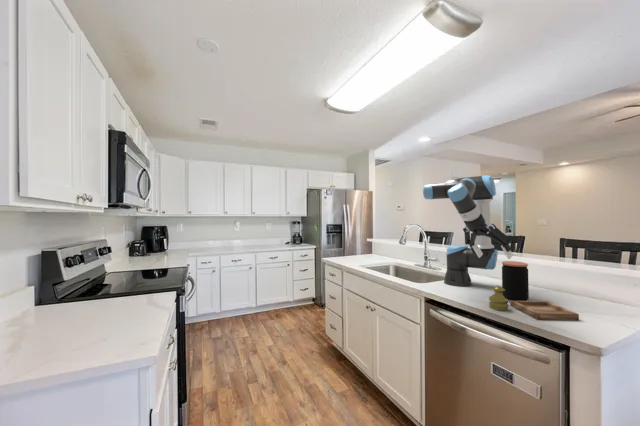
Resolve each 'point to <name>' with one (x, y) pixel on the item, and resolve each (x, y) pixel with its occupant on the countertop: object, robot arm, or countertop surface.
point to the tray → (544, 310)
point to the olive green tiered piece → (498, 299)
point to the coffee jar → (515, 281)
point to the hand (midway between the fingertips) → (495, 256)
